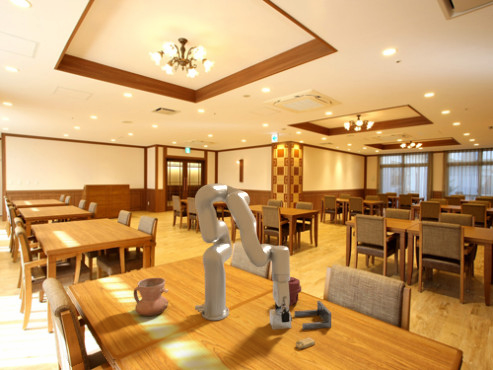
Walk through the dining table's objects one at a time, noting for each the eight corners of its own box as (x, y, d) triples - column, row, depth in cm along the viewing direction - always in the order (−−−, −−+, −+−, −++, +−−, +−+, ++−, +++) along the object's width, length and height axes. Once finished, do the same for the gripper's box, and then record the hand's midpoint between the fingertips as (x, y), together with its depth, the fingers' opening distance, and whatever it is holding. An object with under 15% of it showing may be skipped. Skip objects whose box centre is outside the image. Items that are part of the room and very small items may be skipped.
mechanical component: (301, 299, 137) (301, 308, 127) (281, 297, 139) (280, 306, 129) (301, 275, 137) (301, 283, 127) (281, 274, 139) (280, 281, 129)
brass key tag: (299, 350, 97) (299, 347, 96) (294, 345, 99) (294, 342, 99) (314, 344, 100) (314, 341, 100) (309, 340, 103) (309, 336, 103)
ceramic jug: (176, 306, 130) (175, 277, 129) (159, 321, 116) (158, 289, 115) (144, 302, 134) (144, 274, 134) (124, 316, 120) (123, 285, 120)
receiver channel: (303, 329, 110) (303, 315, 109) (294, 315, 121) (294, 302, 121) (331, 327, 111) (331, 313, 111) (319, 313, 123) (319, 300, 122)
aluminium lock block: (272, 329, 110) (272, 315, 110) (269, 323, 115) (269, 309, 115) (292, 327, 111) (292, 313, 111) (289, 321, 116) (289, 307, 116)
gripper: (267, 269, 120) (268, 307, 121) (277, 284, 103) (279, 328, 103) (283, 268, 121) (284, 305, 122) (296, 282, 104) (297, 326, 105)
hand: (282, 315), depth 113 cm, fingers open, 9 cm apart
